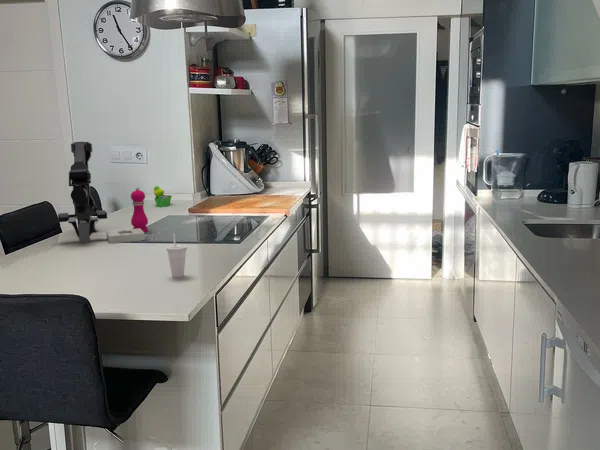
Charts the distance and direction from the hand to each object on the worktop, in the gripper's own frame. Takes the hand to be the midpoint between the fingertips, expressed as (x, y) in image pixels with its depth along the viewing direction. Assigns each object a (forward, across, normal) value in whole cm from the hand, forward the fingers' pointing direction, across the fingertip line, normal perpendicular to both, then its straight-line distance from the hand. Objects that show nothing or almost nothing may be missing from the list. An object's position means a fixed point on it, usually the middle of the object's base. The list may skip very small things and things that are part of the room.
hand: (84, 236), depth 246 cm
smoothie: (+2, +24, -70) cm, 74 cm away
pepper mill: (+2, +24, +11) cm, 26 cm away
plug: (+2, 0, 0) cm, 2 cm away
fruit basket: (+2, +47, +83) cm, 95 cm away
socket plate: (+2, +16, -3) cm, 16 cm away
